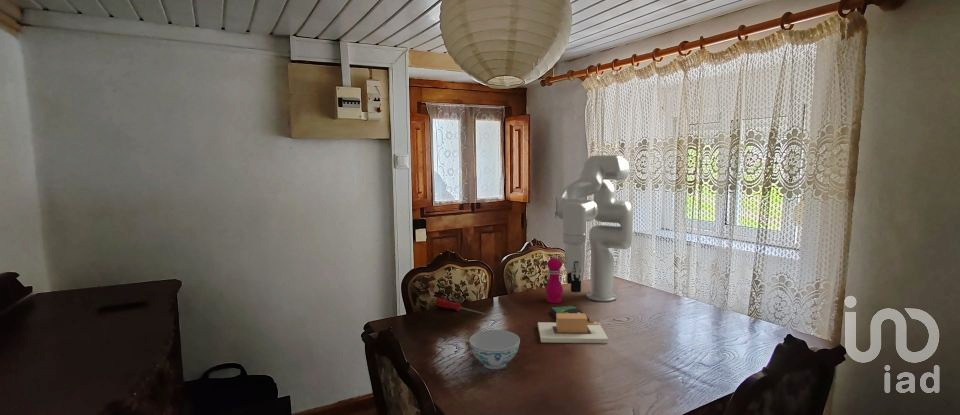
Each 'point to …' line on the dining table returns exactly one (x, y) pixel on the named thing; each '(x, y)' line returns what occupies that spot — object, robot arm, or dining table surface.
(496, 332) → the chinaware
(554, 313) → the disk drive
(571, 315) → the plug housing
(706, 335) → the dining table surface
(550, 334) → the board
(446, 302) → the screwdriver
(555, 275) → the pepper mill
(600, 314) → the dining table surface
